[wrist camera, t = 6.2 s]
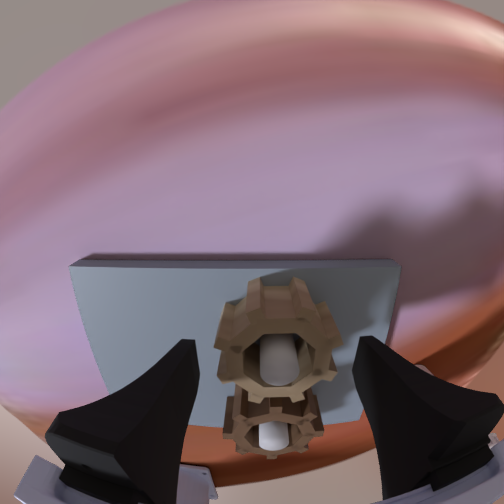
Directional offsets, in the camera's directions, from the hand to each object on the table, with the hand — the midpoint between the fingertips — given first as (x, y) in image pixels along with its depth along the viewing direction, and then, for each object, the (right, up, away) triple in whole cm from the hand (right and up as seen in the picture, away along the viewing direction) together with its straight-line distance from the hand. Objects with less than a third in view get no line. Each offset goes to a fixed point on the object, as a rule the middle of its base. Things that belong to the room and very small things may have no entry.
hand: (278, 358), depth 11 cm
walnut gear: (0, -5, +4) cm, 6 cm away
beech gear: (0, +1, +2) cm, 3 cm away
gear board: (-2, -2, +4) cm, 5 cm away
